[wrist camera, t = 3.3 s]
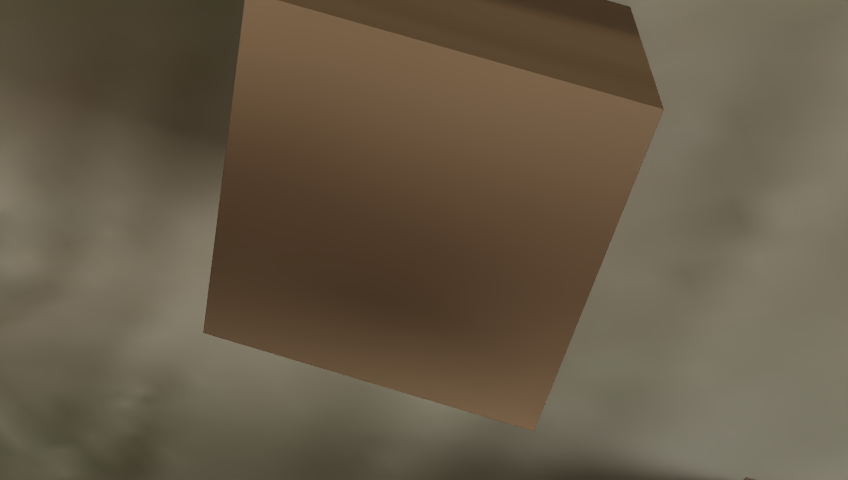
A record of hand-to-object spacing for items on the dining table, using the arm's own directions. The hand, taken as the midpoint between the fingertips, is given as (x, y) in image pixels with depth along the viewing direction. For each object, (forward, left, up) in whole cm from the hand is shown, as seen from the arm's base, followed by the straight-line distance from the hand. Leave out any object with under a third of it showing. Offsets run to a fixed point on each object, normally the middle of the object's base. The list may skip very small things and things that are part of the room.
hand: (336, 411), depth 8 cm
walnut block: (-1, 0, -9) cm, 9 cm away
